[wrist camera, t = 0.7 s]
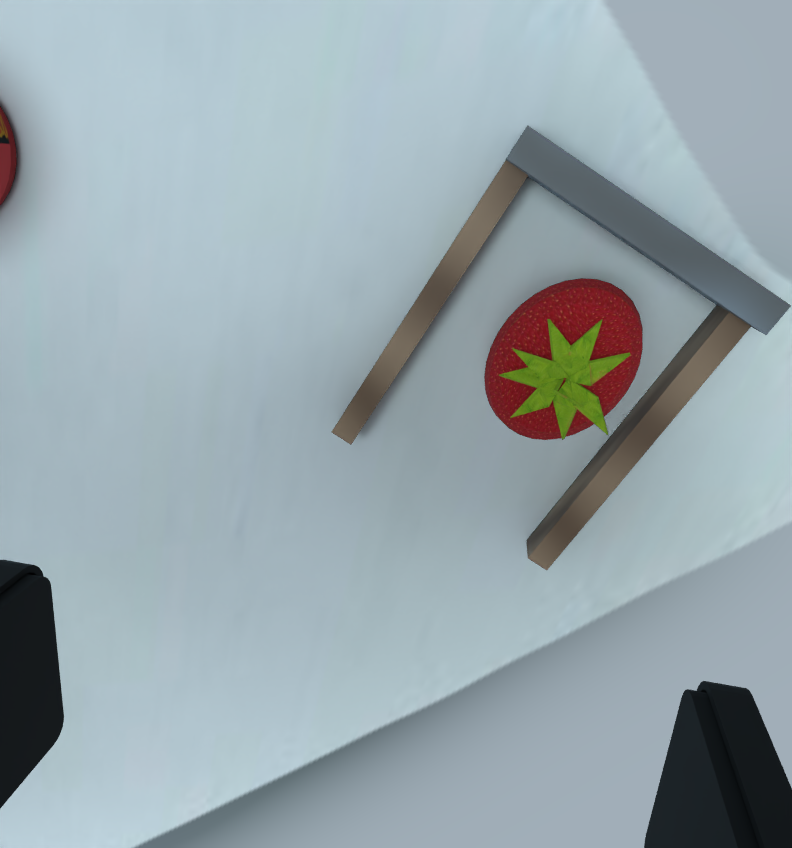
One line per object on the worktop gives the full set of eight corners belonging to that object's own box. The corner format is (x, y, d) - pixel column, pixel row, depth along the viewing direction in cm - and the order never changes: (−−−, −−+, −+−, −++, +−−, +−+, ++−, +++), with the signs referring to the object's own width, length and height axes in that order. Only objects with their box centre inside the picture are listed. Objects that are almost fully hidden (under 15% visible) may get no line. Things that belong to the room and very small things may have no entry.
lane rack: (544, 552, 40) (549, 590, 36) (339, 420, 39) (322, 445, 35) (758, 292, 34) (791, 305, 31) (524, 132, 33) (527, 125, 30)
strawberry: (651, 313, 35) (707, 360, 26) (548, 427, 38) (564, 507, 28) (558, 237, 35) (579, 256, 25) (459, 357, 37) (446, 415, 28)
